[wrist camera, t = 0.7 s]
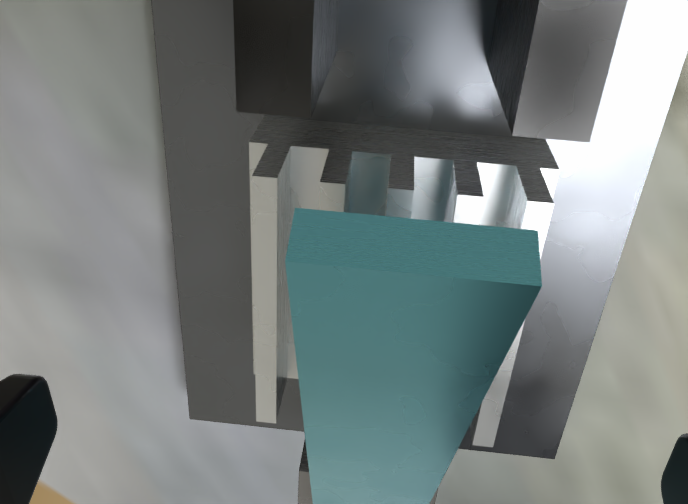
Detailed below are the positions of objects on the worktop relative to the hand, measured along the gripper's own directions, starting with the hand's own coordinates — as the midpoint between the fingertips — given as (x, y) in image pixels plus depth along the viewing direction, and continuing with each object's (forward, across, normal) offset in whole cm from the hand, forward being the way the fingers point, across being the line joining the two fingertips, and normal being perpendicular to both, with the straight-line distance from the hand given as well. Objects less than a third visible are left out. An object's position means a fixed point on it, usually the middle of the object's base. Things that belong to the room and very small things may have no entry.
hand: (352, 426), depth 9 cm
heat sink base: (+13, 0, +4) cm, 13 cm away
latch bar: (+4, 0, +4) cm, 6 cm away
